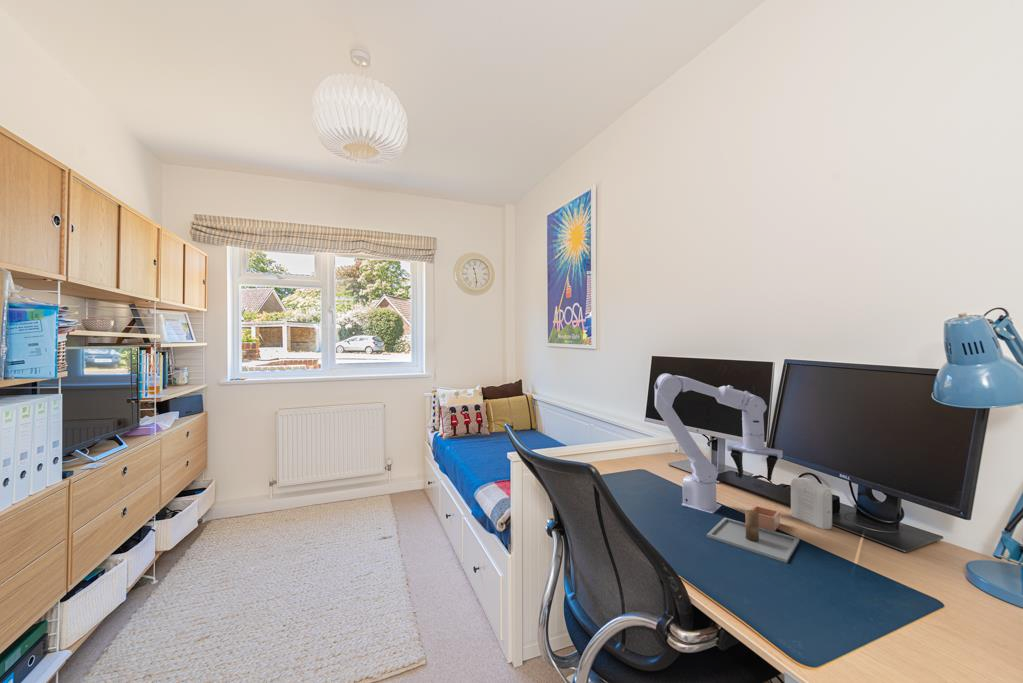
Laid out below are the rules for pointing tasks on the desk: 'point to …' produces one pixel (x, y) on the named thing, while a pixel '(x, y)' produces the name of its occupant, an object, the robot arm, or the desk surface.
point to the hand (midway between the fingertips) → (754, 477)
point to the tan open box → (767, 517)
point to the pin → (752, 525)
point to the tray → (767, 545)
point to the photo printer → (811, 502)
